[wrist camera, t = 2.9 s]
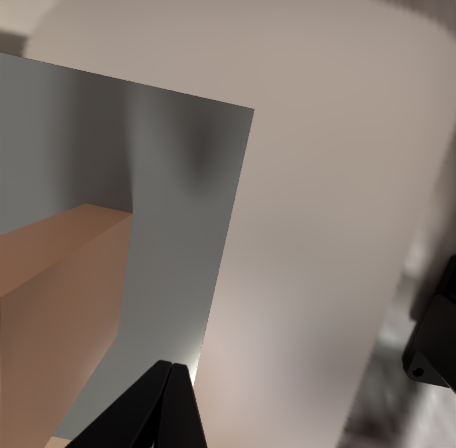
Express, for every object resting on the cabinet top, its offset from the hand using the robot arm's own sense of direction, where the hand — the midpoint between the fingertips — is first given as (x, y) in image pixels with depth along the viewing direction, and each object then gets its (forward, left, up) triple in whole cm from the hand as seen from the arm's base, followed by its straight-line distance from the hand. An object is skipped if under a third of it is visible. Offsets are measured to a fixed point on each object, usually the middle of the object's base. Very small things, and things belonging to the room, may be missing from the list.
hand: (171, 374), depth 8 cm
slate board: (+7, +1, -6) cm, 9 cm away
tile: (+4, 0, -5) cm, 6 cm away
